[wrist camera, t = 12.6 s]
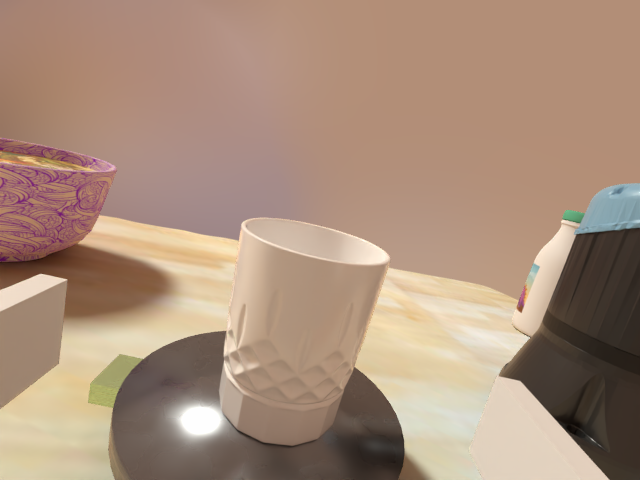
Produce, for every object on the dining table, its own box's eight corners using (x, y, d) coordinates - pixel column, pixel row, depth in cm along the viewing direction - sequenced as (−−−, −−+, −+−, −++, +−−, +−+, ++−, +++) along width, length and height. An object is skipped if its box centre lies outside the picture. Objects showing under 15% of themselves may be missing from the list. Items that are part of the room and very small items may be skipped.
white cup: (370, 421, 22) (419, 261, 20) (263, 484, 16) (317, 268, 14) (285, 353, 27) (317, 220, 25) (181, 382, 21) (212, 213, 19)
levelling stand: (364, 405, 31) (379, 356, 30) (412, 657, 15) (446, 573, 14) (155, 360, 30) (163, 309, 29) (-23, 581, 14) (-18, 486, 13)
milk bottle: (573, 345, 58) (625, 223, 54) (544, 346, 55) (596, 215, 51) (529, 322, 65) (572, 211, 61) (500, 321, 62) (543, 203, 57)
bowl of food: (-59, 216, 48) (-56, 125, 46) (116, 237, 56) (125, 161, 54) (-193, 271, 30) (-201, 128, 28) (90, 291, 38) (103, 181, 36)
